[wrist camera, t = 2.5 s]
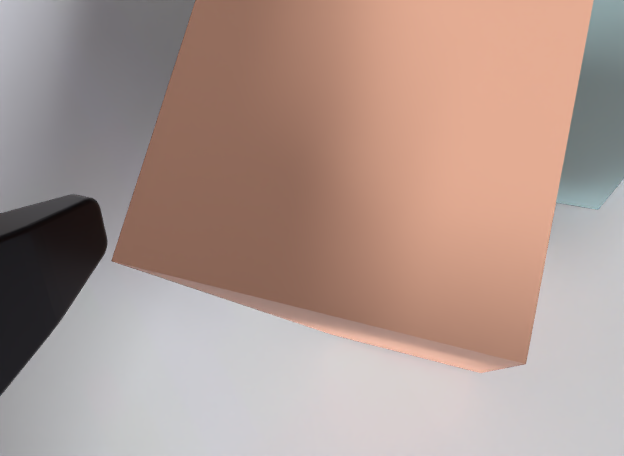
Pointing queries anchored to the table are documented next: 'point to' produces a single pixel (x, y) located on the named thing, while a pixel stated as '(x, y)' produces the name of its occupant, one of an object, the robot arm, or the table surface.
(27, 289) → the robot arm
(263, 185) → the stub
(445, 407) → the table surface
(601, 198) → the teal block
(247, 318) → the table surface
